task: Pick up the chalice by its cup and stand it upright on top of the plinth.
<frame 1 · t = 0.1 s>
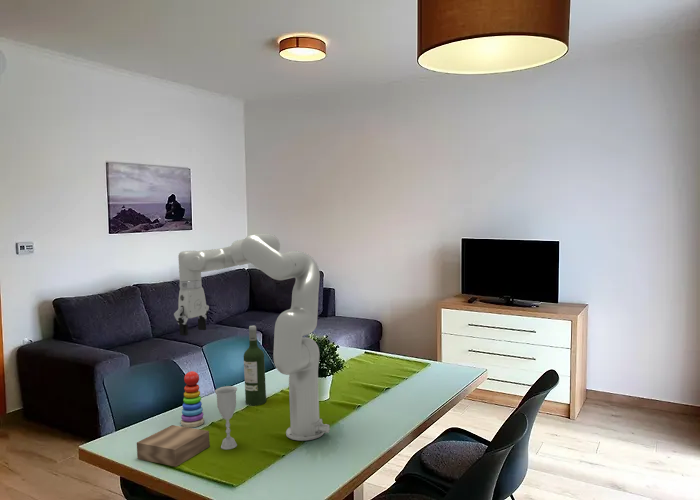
hand: (193, 332, 197), 31 cm above the table, tool pointing down, fingers open, 9 cm apart
plinth: (174, 452, 168), on the table
wine bottle: (256, 402, 213), on the table
stacking toy: (192, 424, 192), on the table
chalice: (228, 446, 172), on the table
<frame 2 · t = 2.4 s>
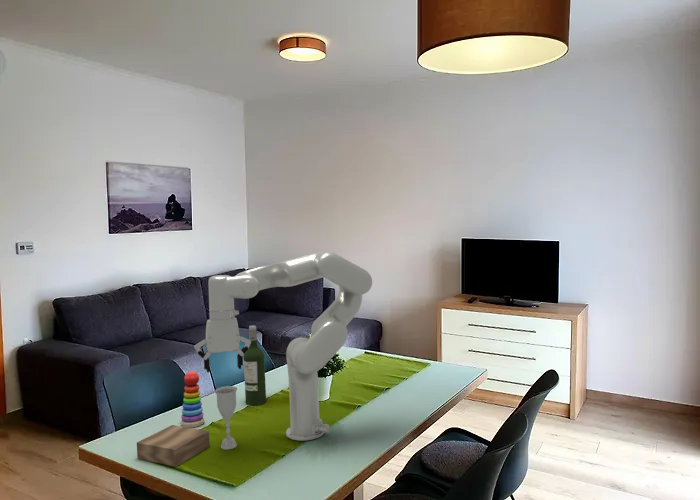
hand: (223, 369, 171), 24 cm above the table, tool pointing down, fingers open, 9 cm apart
nothing on the table moved.
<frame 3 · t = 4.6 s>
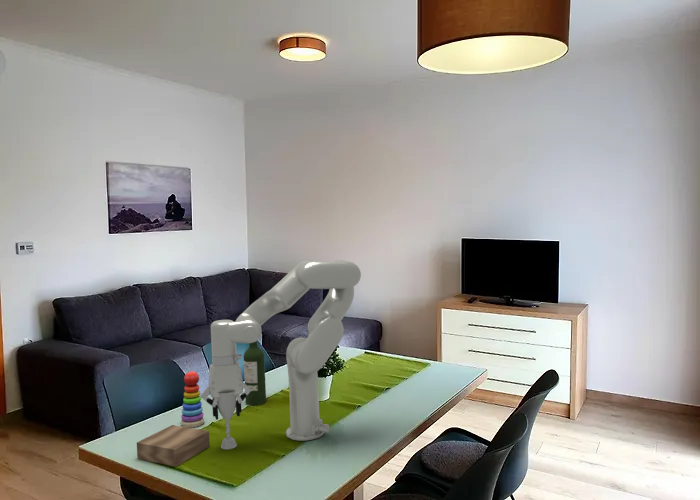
hand: (227, 416, 172), 10 cm above the table, tool pointing down, fingers closed on chalice, 6 cm apart
chalice: (228, 446, 172), on the table, touching gripper
everything else where it was.
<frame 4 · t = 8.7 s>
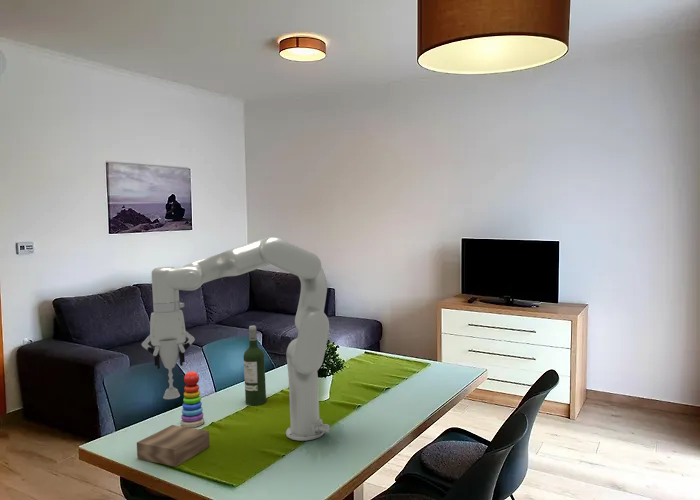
hand: (169, 365, 167), 27 cm above the table, tool pointing down, fingers closed on chalice, 6 cm apart
chalice: (171, 397, 168), point 17 cm above the table, touching gripper
everything else where it was.
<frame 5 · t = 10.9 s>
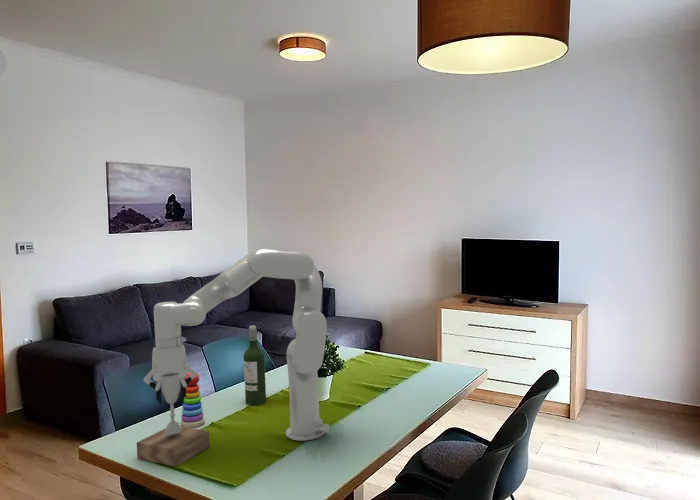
hand: (171, 400, 168), 16 cm above the table, tool pointing down, fingers closed on chalice, 6 cm apart
chalice: (173, 431, 168), point 7 cm above the table, touching gripper
everything else where it was.
when the fingers open (15 cm above the table, at t = 12.8 s): chalice stays where it is, resting on plinth.
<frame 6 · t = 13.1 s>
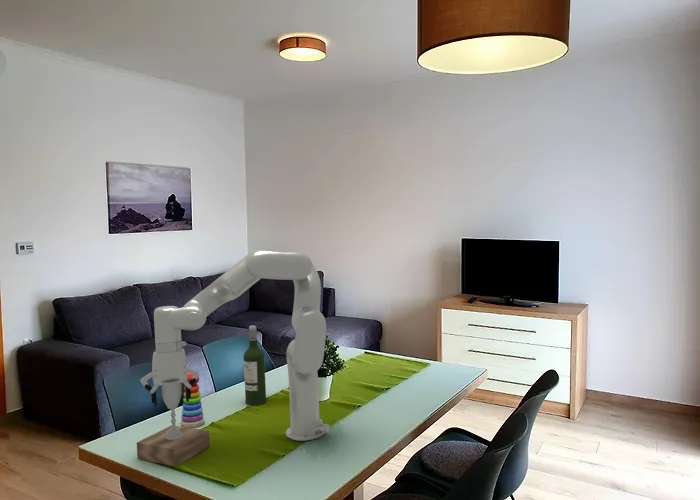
hand: (171, 402, 168), 16 cm above the table, tool pointing down, fingers open, 9 cm apart
chalice: (174, 437, 168), point 5 cm above the table, touching plinth
everything else where it was.
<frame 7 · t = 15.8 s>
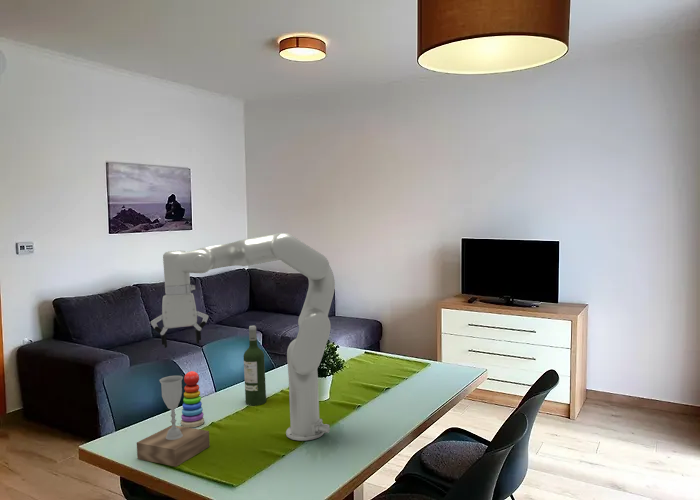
hand: (181, 344, 171), 32 cm above the table, tool pointing down, fingers open, 9 cm apart
nothing on the table moved.
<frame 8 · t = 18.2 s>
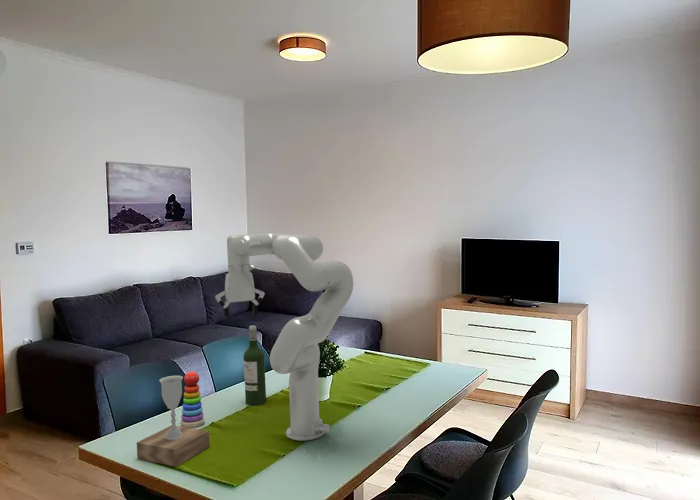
hand: (241, 317, 195), 36 cm above the table, tool pointing down, fingers open, 9 cm apart
nothing on the table moved.
at the end: chalice inside the target area on the plinth (0.3 cm from its centre), point 4.8 cm above the plinth's base; chalice tilted 0°; the gripper is holding nothing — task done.
